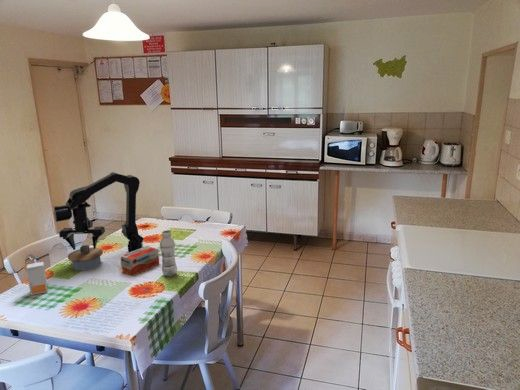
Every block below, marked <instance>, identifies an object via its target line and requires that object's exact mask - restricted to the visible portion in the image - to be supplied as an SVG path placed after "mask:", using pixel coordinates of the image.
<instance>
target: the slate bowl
mask: <svg viewBox="0 0 520 390" xmlns="http://www.w3.org/2000/svg"><path fill="white" fill-rule="evenodd" d="M101 260H102V259H101V256H99V257H97V258H95V259H92V260H88V261H82V262H74V261H71V266H72V269H73V270H74V271H75V270H76V271H79V272H80V270H81V271H88V270H89V271H90V270H92V269H93V270H94V269H95V268H97V267H100V265H101V263H102V261H101Z"/></svg>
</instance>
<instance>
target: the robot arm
mask: <svg viewBox="0 0 520 390" xmlns="http://www.w3.org/2000/svg"><path fill="white" fill-rule="evenodd" d="M115 183H120V184H123V188H124V190H125V194H126V196H125V197H126V199H125V200H126V201H125V203H126V205H125V207H126V208H125V212H126V213H125V222H124V224H121V233H122V235H123V236H124V238H126V239H127V240H128V242H127V243H128V244H127V253H129V252H132V251H135V250H137V249H140V248H143V247H144V244H143V243H144V240H145V238H144V237H143V236H142V235H140V234H139V230H138V225H137V222H136V220H137V219H136V218H137V217H136V216H137V214H136V212H137V209H136V208H137V193H138V191H139V188H140V183H141V181H140V179H139V178H138V177H137V176H134V175H132V174H127V175H125V174H119V173H118V172H114V171H112V172H110V173H109V174H107V175H106V176H104V177H102V178H100V179H98V180H97V181H94V182H93V183H90V184H88V185H86V186H82V187H79V188H76V189H73V190H72V191H70V192H69V195H68V196H69V197H68V199H67V201H66V202H65V204H64V205H54V206H53V219H54V222H56V223H57V222H63V221H64V222H65V221H69V220H71V218H72V219H73V221H72V224H73V225H74V229H73V228H72V227H64V228H63V229H61V230H60V231H59V232H58V237H59V238H62V239H63V240H65V241H66V242H67V243H68V244H69V245H70V246H71V248H72V250H73V251H76V243H75V239H74V237H75V235H82V234H83V235H84V234H85V235H86V234H92V236H91V239H92V246H93V247H92V248H94V249H95V248H97V244H98V240H99V238H100V237H101V236H103V234H104V233H105V232H106V230H105V227H104V226H102V225H101V226H95V227H94V220H90V218H89V216H88V212H87V208H90V207H91V206H92V205H91V204H89V203H88V202H87V200H89V199H90V198H91V197H92V196H93V195H94V194H96V193H97V192H100V191H101V190H103V189H105V188H106V187H108V186H110V185H112V184H115ZM93 227H94V228H93Z"/></svg>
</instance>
